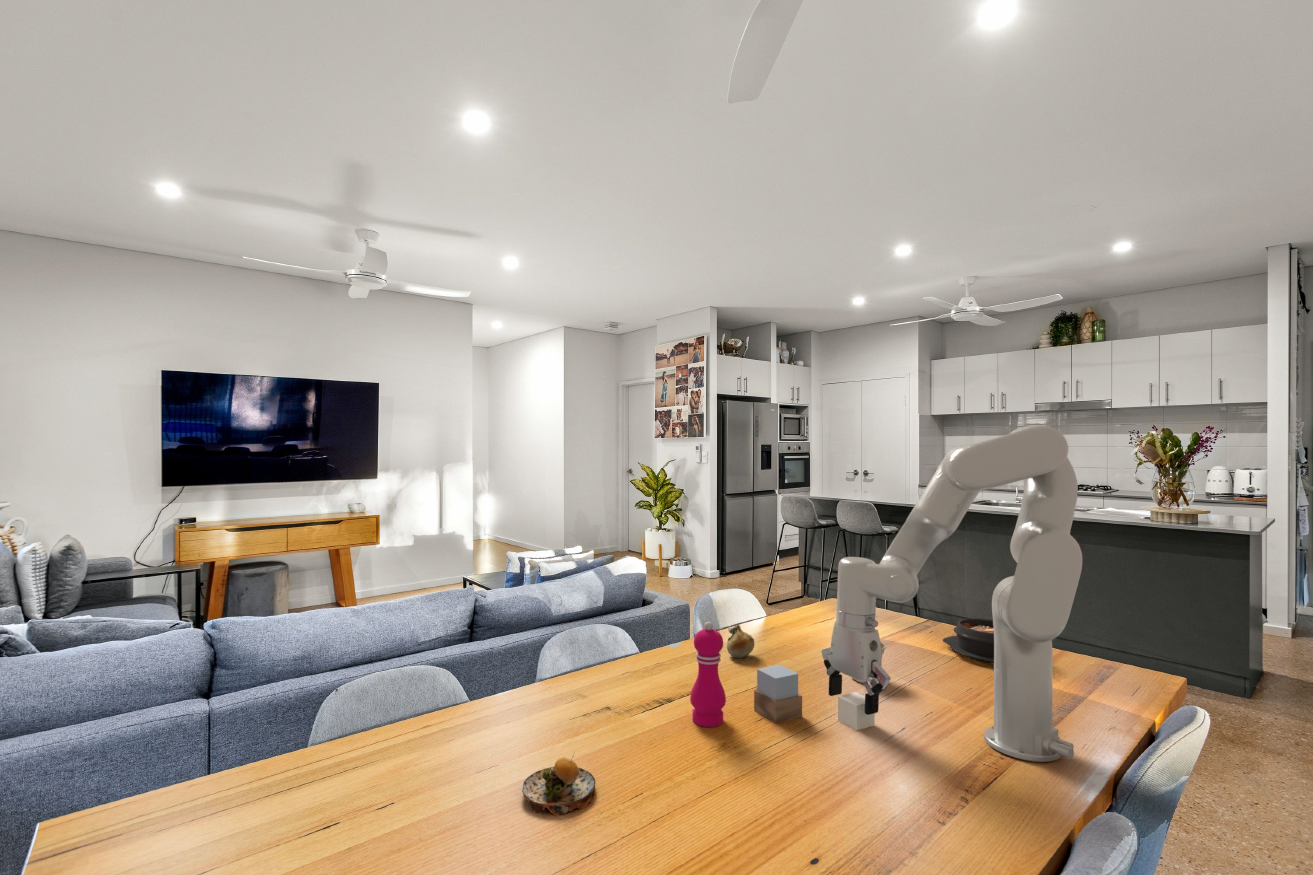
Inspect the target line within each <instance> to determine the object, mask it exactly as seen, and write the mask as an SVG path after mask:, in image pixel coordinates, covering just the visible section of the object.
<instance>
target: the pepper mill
mask: <svg viewBox="0 0 1313 875" xmlns="http://www.w3.org/2000/svg"><path fill="white" fill-rule="evenodd" d="M703 626H704V628H702V629H700V630H698V631H697V632H696V634H695V636H694V638H693V646H694V648H695V650H696V653H695V655H696V657H695V661H696V662H697V663H698V664H697V665H698V673H697V677H696V680H695V682H694V684H693V686H692V687H691V691H690V698H689V699H690V700H689V701H690V705H692V707H693V708H694V709H693V710H692V714H691V715H692V722H693V723H694V724H696V725H697V726H700V727H704V728H715V727H719V726H721V725H722V724H723V722H724V711H723V710H722V709H723V708H724V707H725V705H726V702H727V700H726V699H727V698H726V692H725V689H724V687H723V684H722V682H721V680H720V676H719V663H720V662H721V657H722V655H721V653H720V652H721V651H722V649H723V648H724V638H723V636H722V634H721V633H720V632H719V631H717V630H716V629H714V625H713V623H712V622H711V621H707V622H705V623H704V625H703Z"/></svg>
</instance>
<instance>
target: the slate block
mask: <svg viewBox="0 0 1313 875" xmlns="http://www.w3.org/2000/svg"><path fill="white" fill-rule="evenodd" d="M756 690H757V691H759V692H761V693H762V694H764V695H766V696H768V697H769V698H771V699H773V700H775V701H776V700H781V699H785V698H789V697H794V696H798V694H799V673H797V672H796V671H794V670H792V669H790V668H788V667H785V666H784V665H781V664H776V665H775V664H774V665H771V666H765V667H761V668H757V669H756Z"/></svg>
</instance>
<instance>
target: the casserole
mask: <svg viewBox="0 0 1313 875" xmlns="http://www.w3.org/2000/svg"><path fill="white" fill-rule="evenodd" d="M953 632H954V633H955V634H956V635H949V636H947V637H944V638H942V642H943V643H945V644H946V645H948V646H949V647H950V648H951V649H952V650H953V651H955V652H956V653H958V654H960V655H963V656H966V657H968V658H969V659H972V660H973V661H974V660H975V661H978V662H982V663H985V664H986V663H987V664H993V665H994V626H993V619H986V618H964V619H960V620H958V622H957V624H956V626H955V627H954V628H953Z"/></svg>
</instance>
